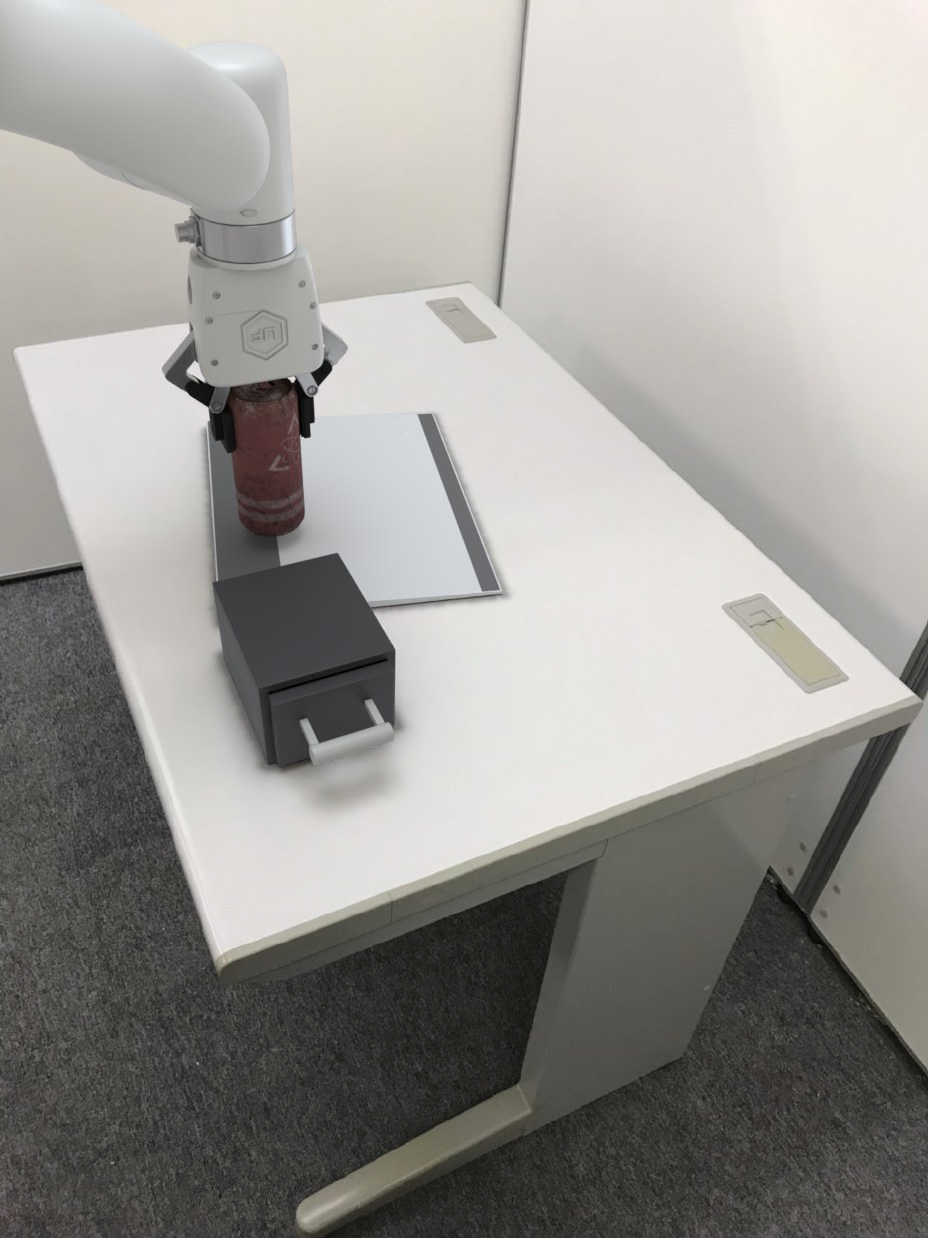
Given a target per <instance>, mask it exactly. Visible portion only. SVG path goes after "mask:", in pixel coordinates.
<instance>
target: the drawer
mask: <svg viewBox="0 0 928 1238" xmlns="http://www.w3.org/2000/svg"><path fill="white" fill-rule="evenodd" d="M268 701H269V710H270V719H271V727H272V736H273V745H274V754H275V758H276V760H277V762H276V763H277V764H278V765H277V766H278V767H283V766H287V765H290V764H292V763H296V762H299V761H302V760H305V759H308V758H310V760H311V762H312V764H313V765H314V766H319V765H322V764H325V763H328V762H331V761H335V760H338V759H341V758H343V757H347V756H350V755H353V754H356V753H359V752H363V751H366V750H369V749H372V748H375V747H378V746H381V745H384V744H388V743H391V742H394V741H395V731H394V726H395V723H394V669H393V668H392V666H391V664H390V662H389V661H384V662H381V663H377V664H375V662H373V663H369V664H366V665H362V666H359V667H355V668H352V669H348V670H345V671H341V672H338V673H334V674H331V675H327V676H324V677H320V678H317V679H313V680H310V681H306V682H303V683H299V684H296V685H292V686H289V687H285V688H282V689H278V690H275V691H271V692H269V695H268Z"/></svg>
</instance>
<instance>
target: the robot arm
mask: <svg viewBox="0 0 928 1238" xmlns="http://www.w3.org/2000/svg"><path fill="white" fill-rule="evenodd" d="M0 130H2V131H5V132H8V133H12V134H16V135H19V136H24V137H26V138H30V139H34V140H36V141H40V142H42V143H47V144H50V145H53V146H55V147H58V148H61V149H64V150H67V151H70V152H71V153H73V154H74V155H75V157H77V159H78V160H80V161H81V163H84V164H85V165H86V166H88V167H89V168H90V169H92V171H94V172H97V173H99V174H100V175H102V176H105V177H107V178H109V179H112V180H115V181H118V182H121V183H124V184H127V185H129V186H131V187H135V188H137V189H140V190H143V191H147V192H151V193H154V194H157V195H159V196H162V197H165V198H167V199H170V200H173V201H176V202H178V203H180V204H184V205H186V206H189V207H190V208H189V212H190V215H188V220H184V221H183V222H178V223H174V225H173V227H174V234H175V238H176V241H177V243H178V244H181V243H188V244H193V247H191V249H190V250H189V253H188V264H187V313H188V314H187V315H188V316H187V317H188V318H187V319H188V330H189V333H188V334H187V336H186V337H185V338H184V339H183V340H182V342H181V343H180V344H179V346H178V347H177V348H176V349H175V350H174V351H173V353H172V354H171V355H170V357H168V359H167V360H166V361H165V363H164V364H163V365H162V367H161V372H162V374H163V376H164V378H165V380H166V381H167V382H168V383H170V384H172V385H174V386H175V387H176V388H178V389H180V390H181V391H184V392H185V393H186V394H188V396H189V397H191V398H192V399H194V400H196V401H197V402H199V403H200V404H201V405H204V406H205V407H207V408H208V417H209V420H210V425H211V431H212V435H213V438H214V440H215V441H220V440H221V442H222V444H223V446H224V448H225V450H226V452H227V453H232V452H234V450H235V441H234V432H233V423H232V415H231V412H230V410H229V408H228V407H227V405H226V400H227V397H228V394H229V391H230V387H233V386H240V385H247V384H253V383H259V382H265V381H271V380H277V379H283V378H288V379H289V378H294V380H293V381H291V382H292V384H293V387H294V388H295V390H296V392H297V394H298V408H299V424H300V435H301V437H304V438H310V437H311V430H310V424H311V423H315V417H316V415H315V396H317V395H318V393H319V389H320V388H319V387H320V386H321V384H323V382H324V381H325V380H326V379H327V378H328V377H329V375H330V374H331V373H332V371H333V367H334V366H336V365H337V364H338V363H339V361H340V360H341V359H342V358H343V357H344V356H345V355H346V354H347V352H348V350H349V345H347V343H346V341H344V339H343V338H342V337H341V336H340V335H338V334H337V333H336V332H335V331H333V330H332V329H331V328H329V327H328V326H327V325H326V324H324V322H322V319H321V311H320V304H319V298H318V290H317V285H316V279H315V273H314V269H313V264H312V261H311V257H310V253H309V249H308V248H307V247H306V246H305V245H304V244H303V243H301V241H299V240H297V239H298V238H297V223H296V221H297V220H296V204H295V189H294V187H295V186H294V171H293V156H292V155H293V154H292V135H291V117H290V99H289V82H288V73H287V69H286V67H285V64H284V62H283V60H282V58H281V57H280V56H279V55H278V53H276V52H274V51H273V49H270V48H268V47H266V46H263V45H260V44H256V43H252V42H245V41H238V40H237V41H234V40H217V41H214V40H213V41H207V42H201V43H197V44H194V45H191V46H189V47H187V48H185V49H184V48H183V47H181V46H180V45H178V44H177V43H175V42H174V41H172V40H170V39H169V38H166V37H164V35H161V34H159V33H158V32H157V31H154V30H152V29H151V28H149V27H147V26H146V25H144V24H142V23H140V22H138V21H136V20H134V19H132V18H130V17H128V16H127V15H125V14H123V13H122V12H119V11H117V10H116V9H113V8H112V7H110V6H108V5H106V4H105V3H102V2H101V1H99V0H0ZM194 362H196V363H197V364H198V366H199V370H200V373H201V375H202V377H203V379H204V380H201V379H200V378H198V377H197V376H195V375H193V374H191V373H189V371H188V370H189V369H190V368H191V366H192V365H193V363H194Z"/></svg>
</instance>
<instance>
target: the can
mask: <svg viewBox="0 0 928 1238" xmlns="http://www.w3.org/2000/svg"><path fill="white" fill-rule="evenodd" d="M292 382H293V381H292V380H291V379H289V378H283V379H277V380H271V381H265V382H259V383H253V384H247V385H240V386H233V387H230V391H229V394H228V397H227V400H226V405H227V407H228V408H229V410H230V412H231V415H232V423H233V432H234V441H235V450H234V452H232V453H231V456H232V464H233V473H234V481H235V490H236V498H237V506H238V515H239V519H240V522H241V523H242V524H243V525H244V526H245V527H246V528H247V529H248V530H249V531H250V532H252V533H254V534H256V535H260V536H265V537H276V536H282V535H285V534H288V533H290V532H292V531H294V530H295V529H296V528H298V526H299V525H300V524H301V522H302V521H303V519H304V516H305V504H304V488H303V472H302V456H301V440H300V424H299V408H298V394H297V392H296V390H295V388H294V387H293V384H292Z"/></svg>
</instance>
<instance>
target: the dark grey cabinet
mask: <svg viewBox="0 0 928 1238" xmlns="http://www.w3.org/2000/svg"><path fill="white" fill-rule="evenodd" d="M211 584H212V591H213V597H214V603H215V604H214V605H215V609H216V610H215V611H216V615H217V617H216V618H217V624H218V631H219V636H220V637H219V638H220V643H221V649H222V655H223V661H224V662H225V665H226V667H227V670H228V673H229V675H230V677H231V679H232V682H233V685H234V687H235V690H236V691H237V695H238V696H239V699H240V701H241V704H242V706H243V708H244V711H245V714H246V716H247V719H248V721H249V723H250V725H251V728H252V730H253V734H254V735H255V738H256V740H257V742H258V745H259V747H260V750H261V752H262V754H263V756H264V759H265V762H266V764H267V765H271V764H274V763H278V762H277V760H276V758H275V754H274V745H273V736H272V727H271V719H270V710H269V701H268V695H269V692H271V691H275V690H278V689H282V688H285V687H289V686H292V685H296V684H299V683H303V682H306V681H310V680H313V679H317V678H320V677H324V676H327V675H331V674H334V673H338V672H341V671H345V670H348V669H352V668H355V667H359V666H362V665H366V664H369V663H373V662H375V664H377V663H381V662H384V661H389V662H390V664H391V666H392V668H393V669H394V724H395V719H396V718H395V717H396V716H395V715H396V714H395V713H396V710H395V709H396V660H397V659H396V658H397V657H396V656H397V655H396V648H395V646H394V644H393V643H392V641H391V639H390V638H389V636H388V634H387V633H386V631H385V629H384V627H383V626H382V624H381V623H380V621H379V620H378V618H377V616H376V615H375V614H376V613H374V611H373V609H372V607H370V606H369V604H368V603H367V601H366V599H365V597H364V596H363V594H362V592H361V591H360V589H359V587H358V586H357V584H356V582H355V581H354V579H353V577H352V576H351V574H350V572H349V571H348V569H347V567H346V566H345V564H344V562H343V561H342V559H341V557H340V555H339V554H338V553H334V554H329V555H325V556H321V557H317V558H313V559H308V560H304V561H300V562H296V563H292V564H287V565H283V566H279V567H275V568H271V569H267V570H262V571H258V572H254V573H250V574H246V575H241V576H237V577H233V578H229V579H225V580H220V581H213V582H212V583H211Z"/></svg>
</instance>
